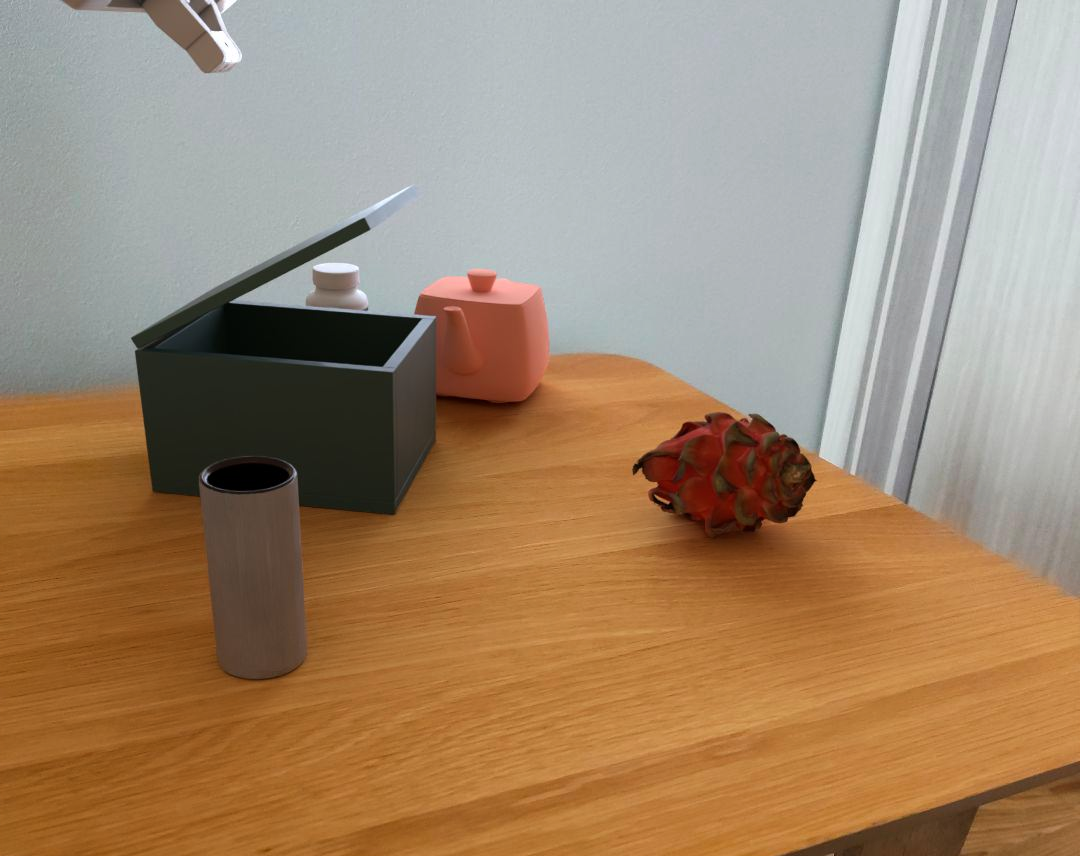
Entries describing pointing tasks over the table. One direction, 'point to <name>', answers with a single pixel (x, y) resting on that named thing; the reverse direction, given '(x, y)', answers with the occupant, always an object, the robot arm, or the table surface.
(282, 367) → the box
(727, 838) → the table surface
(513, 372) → the teapot
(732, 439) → the dragon fruit
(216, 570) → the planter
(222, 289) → the lid
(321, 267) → the pill bottle
